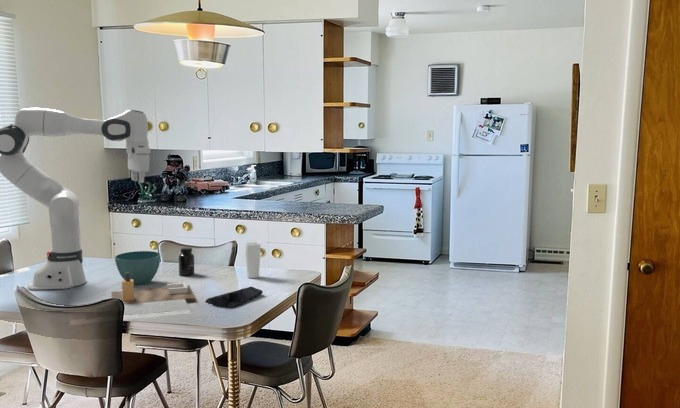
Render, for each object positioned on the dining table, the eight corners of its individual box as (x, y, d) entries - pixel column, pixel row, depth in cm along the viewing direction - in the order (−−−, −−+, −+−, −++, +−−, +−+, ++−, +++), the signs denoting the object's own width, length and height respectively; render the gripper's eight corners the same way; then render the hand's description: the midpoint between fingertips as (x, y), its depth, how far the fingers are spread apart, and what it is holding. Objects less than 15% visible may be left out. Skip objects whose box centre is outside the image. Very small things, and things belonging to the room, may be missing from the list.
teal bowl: (147, 290, 253) (146, 260, 252) (107, 287, 257) (106, 258, 255) (168, 279, 271) (167, 251, 269) (130, 277, 274) (129, 250, 273)
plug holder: (169, 294, 242) (168, 289, 241) (167, 288, 250) (166, 284, 249) (187, 292, 244) (187, 287, 244) (185, 287, 252) (185, 282, 252)
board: (111, 309, 226) (111, 305, 226) (111, 295, 245) (111, 291, 245) (195, 301, 237) (195, 297, 237) (189, 288, 255) (189, 285, 255)
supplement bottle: (192, 276, 277) (191, 249, 275) (177, 276, 277) (176, 249, 275) (196, 272, 284) (195, 246, 282) (181, 272, 284) (180, 246, 282)
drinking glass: (262, 275, 279) (261, 242, 277) (258, 279, 272) (258, 245, 270) (247, 275, 279) (247, 242, 277) (243, 278, 273) (243, 245, 271)
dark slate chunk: (269, 297, 245) (269, 285, 245) (230, 310, 227) (230, 298, 226) (240, 291, 254) (240, 280, 253) (200, 304, 235) (200, 292, 235)
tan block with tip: (122, 300, 232) (121, 274, 231) (122, 298, 236) (121, 272, 235) (134, 299, 234) (133, 273, 232) (133, 297, 237) (132, 271, 236)
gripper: (123, 148, 267) (124, 180, 269) (136, 149, 250) (137, 184, 252) (138, 148, 271) (139, 179, 273) (151, 149, 254) (152, 183, 255)
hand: (138, 181), depth 262 cm, fingers open, 8 cm apart
